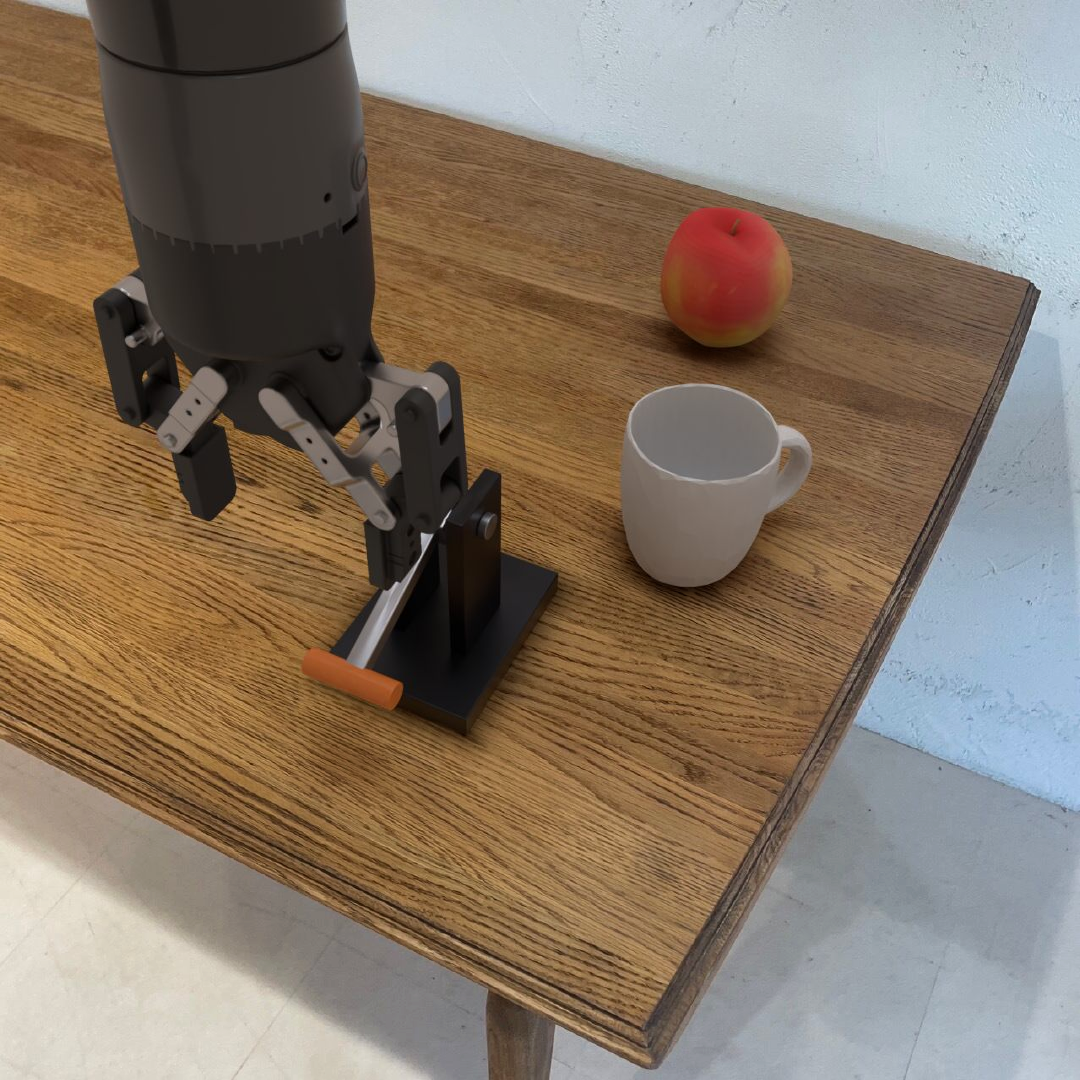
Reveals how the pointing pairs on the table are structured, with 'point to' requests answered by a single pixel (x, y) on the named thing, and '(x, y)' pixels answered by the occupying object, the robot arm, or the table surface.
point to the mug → (703, 479)
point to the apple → (725, 276)
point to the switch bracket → (461, 615)
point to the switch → (373, 640)
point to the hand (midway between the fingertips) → (302, 540)
